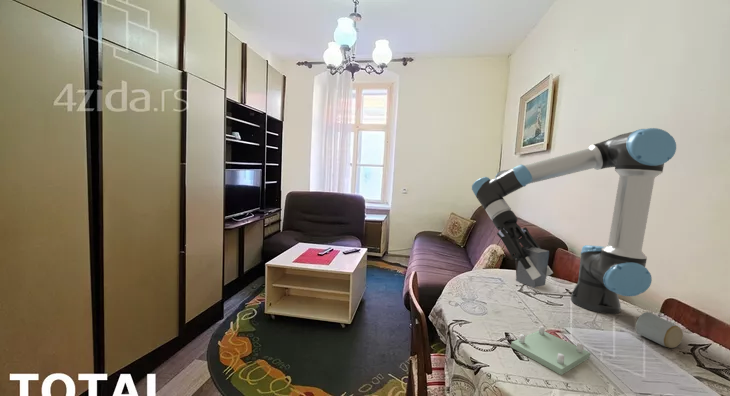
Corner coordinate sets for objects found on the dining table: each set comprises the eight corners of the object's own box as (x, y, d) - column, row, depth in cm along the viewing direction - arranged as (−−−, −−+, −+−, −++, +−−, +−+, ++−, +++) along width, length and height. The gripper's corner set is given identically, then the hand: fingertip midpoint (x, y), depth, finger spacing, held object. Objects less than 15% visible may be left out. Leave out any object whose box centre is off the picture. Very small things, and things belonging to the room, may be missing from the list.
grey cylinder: (665, 351, 85) (669, 325, 84) (633, 335, 93) (636, 311, 92) (691, 348, 88) (695, 323, 87) (657, 333, 96) (661, 310, 95)
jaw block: (527, 278, 100) (530, 246, 99) (545, 284, 95) (549, 251, 94) (515, 280, 97) (519, 247, 96) (534, 287, 92) (538, 252, 91)
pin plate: (540, 334, 91) (541, 323, 91) (589, 357, 80) (591, 345, 80) (510, 347, 83) (512, 335, 83) (561, 375, 72) (562, 361, 72)
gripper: (510, 220, 112) (550, 277, 100) (476, 222, 103) (515, 285, 90) (526, 208, 107) (569, 267, 95) (491, 209, 98) (534, 274, 85)
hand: (543, 276), depth 92 cm, fingers closed on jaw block, 6 cm apart
